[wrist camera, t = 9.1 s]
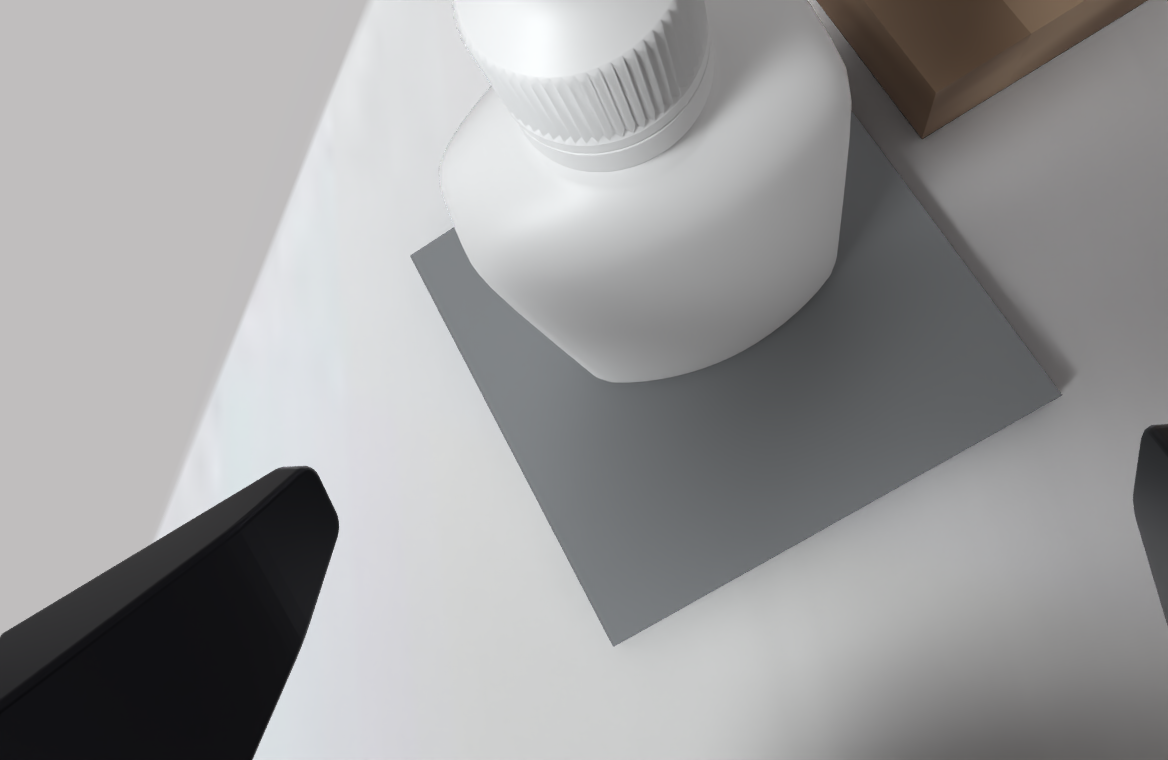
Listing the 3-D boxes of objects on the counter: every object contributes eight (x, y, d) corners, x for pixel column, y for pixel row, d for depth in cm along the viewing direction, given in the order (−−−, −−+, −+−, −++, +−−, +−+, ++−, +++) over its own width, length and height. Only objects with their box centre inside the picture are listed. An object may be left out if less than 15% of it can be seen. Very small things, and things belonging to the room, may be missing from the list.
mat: (619, 642, 18) (612, 646, 17) (421, 263, 21) (410, 256, 20) (1053, 399, 17) (1062, 395, 16) (781, 29, 19) (780, 14, 19)
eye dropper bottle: (580, 194, 19) (258, -316, 8) (838, 191, 18) (901, -440, 6) (562, 383, 19) (176, 122, 7) (829, 396, 17) (882, 93, 6)
